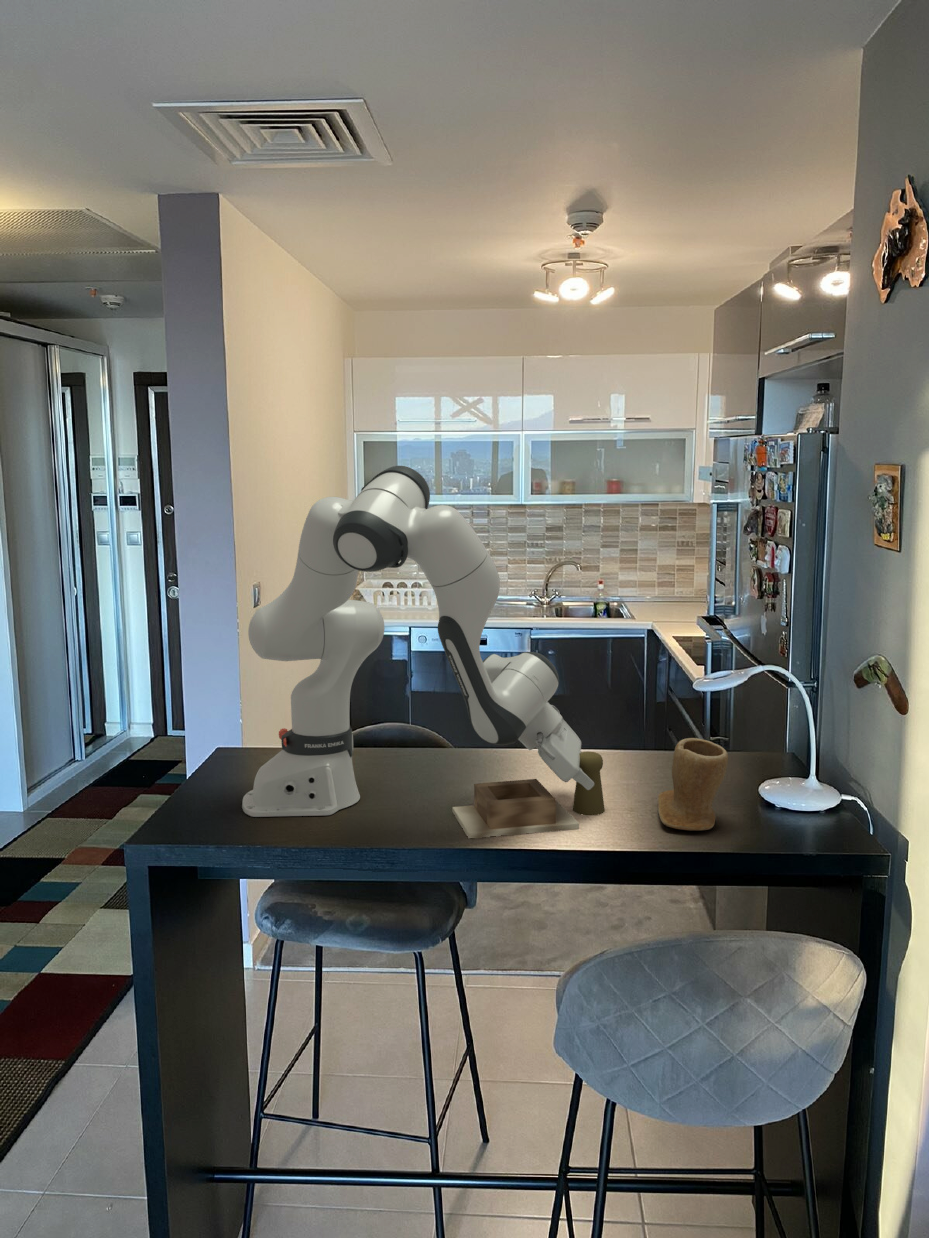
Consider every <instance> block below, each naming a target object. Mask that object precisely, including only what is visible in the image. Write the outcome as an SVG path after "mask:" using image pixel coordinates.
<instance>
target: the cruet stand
mask: <svg viewBox="0 0 929 1238" xmlns="http://www.w3.org/2000/svg"><path fill="white" fill-rule="evenodd" d="M473 787H474V788H473V789H474V791H473V792H474V797H473V798H474V800H473V801H474V804H473V805H464V806H463V805H462V806H461V805H460V806H452V809H451V810H452V814H453V815H455V816H454V817H455V819H456V820H457V822H458V823H459V825H460V827H461V828H463V829H462V830H463V831H464V834H465V835H466V836H468V837H467V838H468V839H469V838H475V839H483V838H482V837H486V838H491V837H490V836H496V837H502V836H501V835H507V836H515V834H518V835H525V834H526V833H529V834H536V833H535V832H540V833H550V831H551V832H559V831H560V830H562V831H570V830H569V829H572V830H579V829H580V822H578V820H576V819H575V818H574V816H572V814H570V812H569V811H567V809H566V808H565V807H564V806H563V805H562V804H561V803H560V802H559V801H558V800H557V799H556V798H555V796H553V794H552V793H551V792H549V791H548V790H547V788H546V787H545V785H543V784H542V783H541V782H540V781H539V780H538V779H537V778H529V779H519V780H518V779H517V780H504V781H503V780H502V781H493V782H482V783H481V782H480V783H474V784H473ZM558 830H559V831H558ZM560 832H561V831H560ZM526 835H527V834H526Z"/></svg>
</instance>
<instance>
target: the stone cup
mask: <svg viewBox="0 0 929 1238" xmlns="http://www.w3.org/2000/svg"><path fill="white" fill-rule="evenodd" d="M673 751H674V752H673V755H672V765H671V776H672V777H671V778H672V783H673V784H672V785H673V789H670V790H666V791H662V792H661V793H659V794H658V795H657V796H658V798H657V806H658V807H657V809H658V811H657V812H658V815H659V819H660V821H661V823H662V824H663V825H665V826H666V827H669V828H672V829H676V830H683V831H708V830H711V829H712V828H713V827H715V824H716V822H715V821H716V814H715V811H714V809H713V803H714V799H715V797H716V795H717V792H718V790H719V789H720V786H721V785H722V783H723V781H724V778H725V776H726V774H727V768H728V762H729V754H728V751H727V750H726V749H725V748H724V747H723V746H721V745H720V744H718V743H714V742H713V741H710V740H706V739H702V738H697V737H688V738H684V739H683V738H682V739H681V740H679V741H678V742H677V744H676V745H675V747H674V750H673Z"/></svg>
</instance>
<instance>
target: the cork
mask: <svg viewBox="0 0 929 1238" xmlns="http://www.w3.org/2000/svg"><path fill="white" fill-rule="evenodd" d="M579 755H580V765H579V767H580V768H581V769H582V771H583V772H584V773H585V774H586V775H587V776H588V775H589V776H590V777H591V779H593V780H594V786H593V787H592V788H591V789H590V790H587V789H586V788H585V787H584V786H583V785H582V784H580V783H578V782H577V781H575V787H574V788H575V789H574V796H573V797H574V798H573V803H572V812H573V813H575V814H578V815H581V814H583V815H582V816H598V814H599V815H602V814H604V813H605V811H606V809H605V802H604V794H603V785H602V777H601V770H602V769H603V766H604V758H603V757H602V755H601V754H600V753H598V752H595V751H581V753H579Z"/></svg>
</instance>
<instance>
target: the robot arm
mask: <svg viewBox="0 0 929 1238" xmlns="http://www.w3.org/2000/svg"><path fill="white" fill-rule="evenodd" d="M430 500H431V491H430V487H429V485H428V483H427V480H426V479H425V478H424V477H423V475H422V474H420V473H419V471H417V470H415V469H413V468H411V467H409V466H406V465H394V466H391V467H388V468H385V469H383V470H382V471H381V472H379V473H377V474H376V475H375V476H374V477H373V478H372V479H371V480H369V481H368V482H367V483H366V484H365V485H363V486H362V487H361V490H360V492H359V493H358V494H357V496H355V498H353V499H347V498H344V497H342V496H341V497H339V496H327V497H324V498H321V499H319V500H317V501H316V502H315V503H313V505H311V507H310V509H309V511H308V514H307V516H306V518H305V520H304V524H303V528H302V531H301V535H300V538H299V544H298V545H299V546H298V551H297V558H296V559H297V560H296V563H295V564H296V565H295V569H294V573H293V577H292V580H291V581H290V583H289V584H288V585H287V587H286V588H285V589H284V590H283V592H282V593H281V594H280V595H278V597H276V598H275V599H273V601H271V602H269V603H268V604H266V605H264V606H262V607H260V608H258V609H257V610H256V611H255V612H254V614H253V616H252V617H251V619H250V622H249V624H248V640H249V644H250V646H251V649H253V651H254V653H255V654H256V655H257V656H259V658H261V659H263V660H271V661H278V662H295V661H306V660H320V662H319V665H318V667H317V668H316V669H315V671H313V673H311V674H310V675H308V676H307V677H305V678H303V679H302V680H300V681H299V682H298V683H297V684H296V685H295V686H294V687H293V689H292V691H291V694H290V712H291V714H290V715H291V728H290V730H289V729H287V728H284V727H283V728H280V730H279V731H278V737H279V739H280V740H281V750H280V751H278V752H277V754H276V755H274V756H273V757H272V758H270V759H269V760H268V761H267V762H266V763H264V764H263V765H261V766H260V767H259V768H258V771H257V772H256V775H255V777H254V781H253V789H252V790H249V791H248V792H246V793H245V794H244V795H243V798H242V805H241V808H242V811H243V812H244V814H246V815H248V816H250V817H252V818H254V817H255V818H257V817H258V818H259V817H260V818H263V817H264V818H265V817H302V816H303V817H308V816H309V817H311V816H312V817H313V816H314V817H315V816H317V817H318V816H331V815H333V814H335V813H336V812H338V811H339V810H342V809H345V808H348V807H350V806H353V805H355V804H356V803H358V802H359V800H360V799H361V795H360V792H359V788H358V786H357V782H356V781H357V780H356V776H355V772H354V765H353V752H354V735H353V729H352V726H351V725H350V708H351V707H350V705H351V704H350V702H351V689H352V685H353V682H354V679H355V677H356V674H357V672H358V670H359V668H360V667H361V666H362V664H363V662H364V661H365V660H366V659H367V658H368V656H370V655H371V654H373V652H374V651H375V650H377V649H378V647H379V646H380V645H381V643H382V641H383V639H384V636H385V620H384V617H383V615H382V613H381V610H379V608H378V607H377V606H376V605H375V604H374V603H373V602H370V601H369V602H368V601H363V600H359V599H357V600H356V599H350V598H352V596H353V594H354V592H355V590H356V587H357V582H358V576H359V572H364V573H370V572H378V571H381V570H384V569H388V568H390V569H391V568H392V569H396V568H400V567H402V566H403V565H404V564H405V562H406V561H407V558H408V559H410V560H413V562H415V563H416V564H418V565H417V566H419V568H420V569H421V571H422V573H423V574H424V575H425V577H426V579H427V581H428V583H429V585H430V586H431V588H432V589H433V592H434V595H435V599H436V602H437V606H438V623H437V633H438V637H439V640H440V642H441V645H442V648H443V651H444V653H445V656H446V659H447V660H448V661H447V662H448V663H449V666H450V668H451V671H452V673H453V676H454V678H455V679H456V682H457V684H458V687H459V690H460V691H461V694H462V696H463V700H464V702H465V705H466V709H467V714H468V718H469V721H470V725H471V727H472V728H473V730H474V732H475V733H476V735H477V736H478V737H479V738H481V740H483V741H484V742H486V743H488V744H490V745H495V746H507V745H511V744H515V743H516V742H518V741H519V742H520V743H522V745H523V746H524V747H525V748H526V749H527V750H529V751H531V750H534V749H535V748H536V749H537V753H538V756H539V757H540V758H541V760H542V761H543V762H544V763H545V764H546V765H547V766H548V768H549V769H550V770H551V771H552V772H553V773H554V774H555V776H556V777H558V779H560V780H561V781H562V782H564V783H568V782H569V781H571V779H573V781H575V782H576V781H577V782H578V783H580V784H582V785H583V786H584V787H585V788H586V789H587V790H590V789H591V788H592V787H593V786H594V780H593V779H591V777H590V776H589V775H588V776H587V775H586V774H585V773H584V772H583V771H582V769H581V768H580V767H579V765H580V755H579V753H581V752H582V740H581V739H580V738H579V736H578V735H577V734H576V732H575V731H574V730H573V729H572V728H571V726H570V725H569V724H568V723H567V721H565V720H564V718H563V716H562V715H561V714H560V712H561V711H560V710H559V709H558V708H557V707H556V706H555V705H553V704H550V702H549V701H550V699H552V697H553V696H554V694H556V692H557V690H558V687H559V686H560V678H559V673H558V671H557V668H556V666H555V665H554V664H553V663H552V662H551V660H549V659H548V658H547V657H546V656H545V655H543V654H541V653H538V652H536V651H523V652H521V653H520V654H518V655H514V656H508V657H502V656H500V655H498V654H495V653H493V654H490V655H488V656H487V657H486V658H484V659H482V656H481V651H480V650H481V649H480V645H481V644H480V643H481V638H482V635H483V631H484V628H485V625H486V623H487V621H488V619H489V617H490V614H491V613H492V611H493V608H494V607H495V605H496V603H497V600H498V598H499V594H500V588H501V579H500V574H499V572H498V569H497V566H496V564H495V562H494V560H493V558H492V557H491V555H490V554H489V551H488V550H487V548H486V547H485V545H484V543H483V542H482V540H481V538H480V537H479V535H478V533H476V531H475V530H474V528H473V527H472V525H470V523H469V521H467V520H466V518H465V517H464V516H463V515H462V514H461V513H460V512H459V511H458V510H457V509H456V508H454V507H453V506H450V505H447V504H439V505H434V506H431V507H429V505H430Z"/></svg>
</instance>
